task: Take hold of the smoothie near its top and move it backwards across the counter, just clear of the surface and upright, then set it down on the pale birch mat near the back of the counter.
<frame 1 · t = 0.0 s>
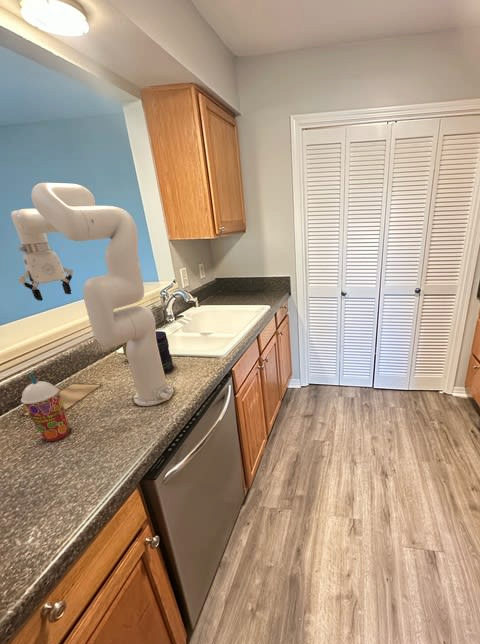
hand: (54, 297, 119), 31 cm above the countertop, tool pointing down, fingers open, 9 cm apart
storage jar: (161, 370, 130), on the countertop
board: (64, 399, 112), on the countertop
smoothie: (57, 435, 94), on the countertop
squeeze bottle: (136, 359, 142), on the countertop
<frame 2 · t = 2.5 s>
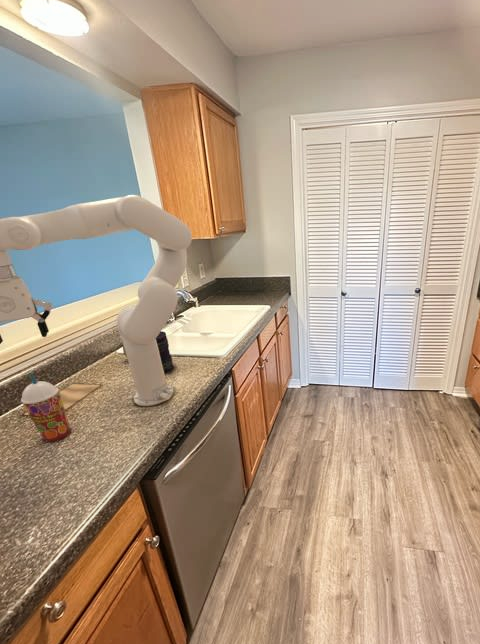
hand: (23, 339, 86), 28 cm above the countertop, tool pointing down, fingers open, 9 cm apart
nothing on the countertop moved.
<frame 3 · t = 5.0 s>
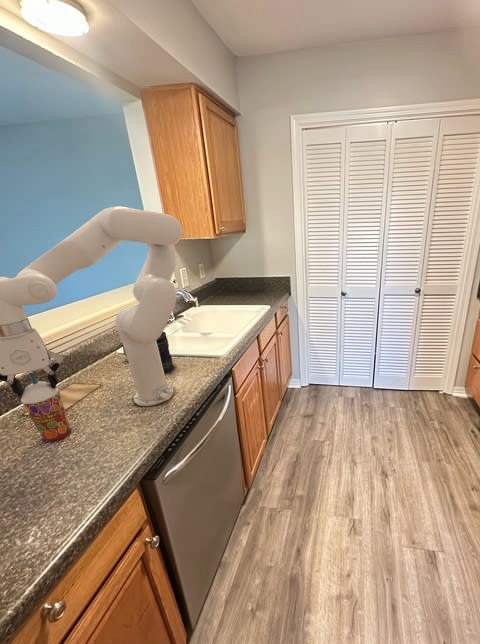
hand: (38, 389, 87), 15 cm above the countertop, tool pointing down, fingers closed on smoothie, 6 cm apart
smoothie: (57, 435, 94), on the countertop, touching gripper
everything else where it was.
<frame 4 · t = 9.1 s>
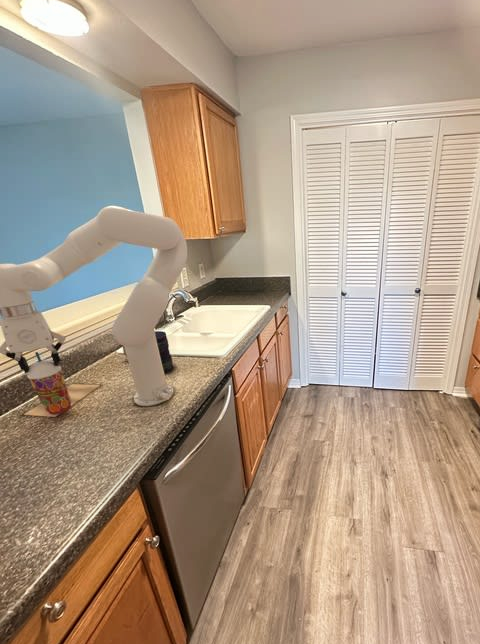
hand: (42, 367, 96), 17 cm above the countertop, tool pointing down, fingers closed on smoothie, 6 cm apart
smoothie: (60, 410, 103), point 2 cm above the countertop, touching gripper
everything else where it was.
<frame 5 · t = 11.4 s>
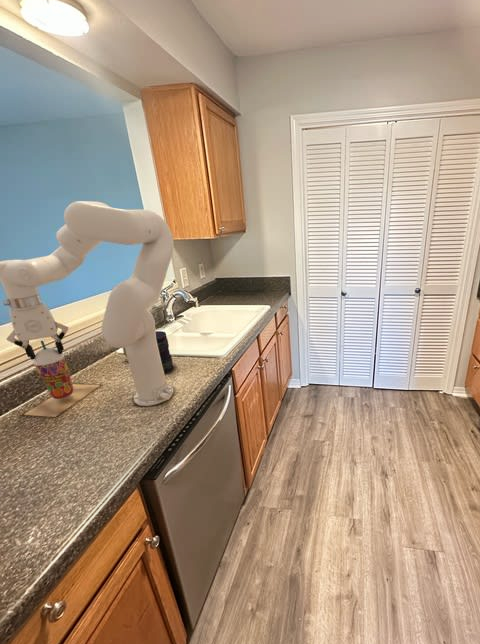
hand: (47, 355, 105), 17 cm above the countertop, tool pointing down, fingers closed on smoothie, 6 cm apart
smoothie: (63, 395, 111), point 2 cm above the countertop, touching gripper
everything else where it was.
when the fingers open (15 cm above the countertop, at t = 13.2 s): smoothie stays where it is, resting on board.
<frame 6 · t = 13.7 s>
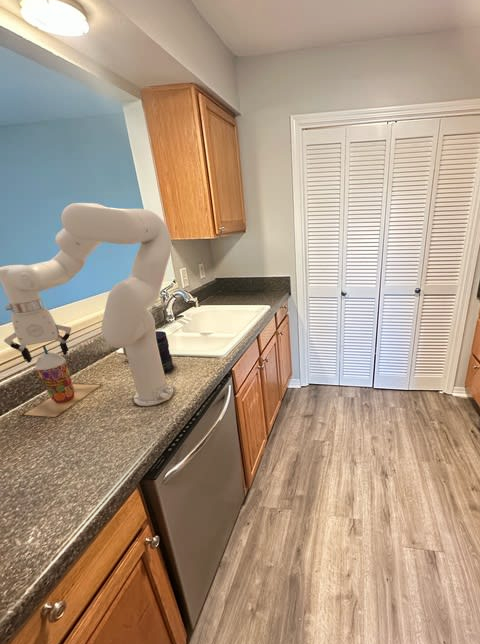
hand: (48, 357, 106), 16 cm above the countertop, tool pointing down, fingers open, 9 cm apart
smoothie: (64, 399, 112), resting on board
everything else where it was.
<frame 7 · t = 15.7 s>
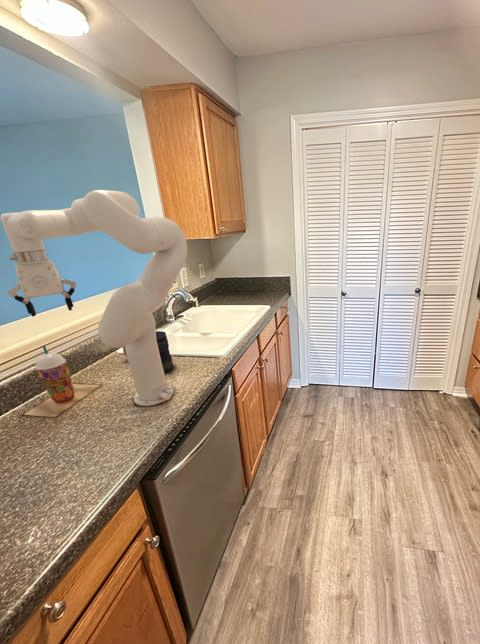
hand: (52, 312, 103), 30 cm above the countertop, tool pointing down, fingers open, 9 cm apart
nothing on the countertop moved.
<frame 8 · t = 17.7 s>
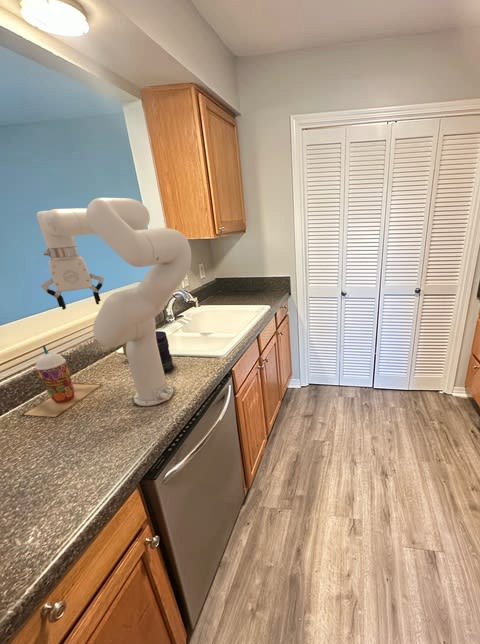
hand: (81, 306, 108), 30 cm above the countertop, tool pointing down, fingers open, 9 cm apart
nothing on the countertop moved.
at the end: smoothie inside the target area on the board (0.1 cm from its centre), point 0.0 cm above the board's base; smoothie tilted 0°; smoothie moved 23.3 cm from its start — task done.
